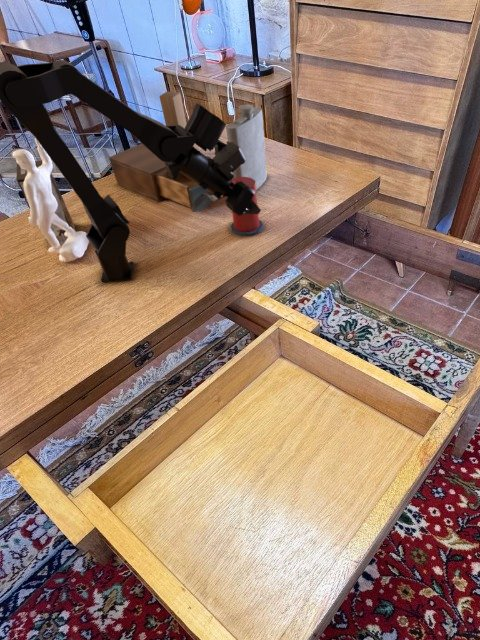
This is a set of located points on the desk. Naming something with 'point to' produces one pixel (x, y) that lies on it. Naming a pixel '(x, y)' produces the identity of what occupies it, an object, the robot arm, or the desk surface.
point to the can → (246, 220)
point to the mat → (247, 232)
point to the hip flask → (249, 143)
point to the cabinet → (138, 171)
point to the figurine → (48, 206)
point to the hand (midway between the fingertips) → (249, 204)
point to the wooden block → (173, 110)
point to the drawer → (184, 191)
